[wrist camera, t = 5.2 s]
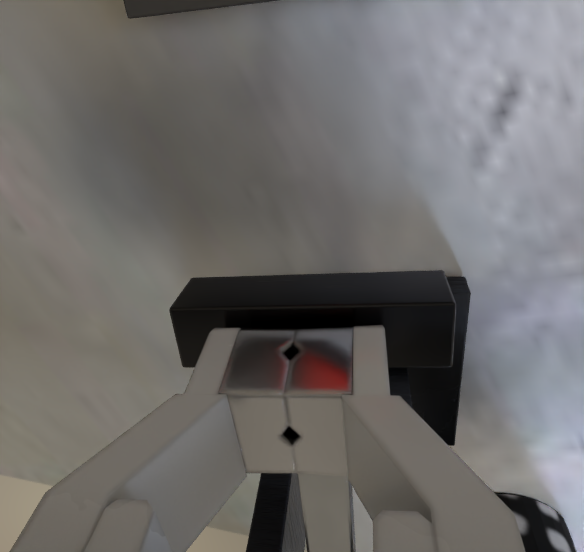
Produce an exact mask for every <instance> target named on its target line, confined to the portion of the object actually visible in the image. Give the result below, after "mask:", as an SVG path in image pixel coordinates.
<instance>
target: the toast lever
mask: <svg viewBox="0 0 584 552" xmlns="http://www.w3.org/2000/svg"><path fill="white" fill-rule="evenodd" d="M169 311H170V315H171V320H172V324H173V328H174V332H175V337H176V341H177V345H178V349H179V354H180V358H181V362H182V366H183V367H195V366H196V364H197V361H198V359H199V356H200V354H201V352H202V349H203V347H204V344H205V342H206V339H207V337H208V335H209V333H210V332H211V331H212V330H213V329H214V328H336V327H353V329H354V326H371V325H383V327H384V328H385V338H386V350H387V362H388V368H450V367H452V365H453V350H454V333H455V317H456V303H455V300H454V297H453V294H452V292H451V289H450V286H449V283H448V281H447V278H446V275H445V273H444V271H442V270H438V271H405V272H371V273H338V274H304V275H271V276H237V277H204V278H192V279H190V281H189V282H188V284H187V285H186V286H185V288H184V289H183V291H182V292H181V293H180V295H179V296H178V297H177V299H176V300H175V302H174V303H173V304H172V306H171V307H170V310H169ZM298 480H299V488H300V496H301V504H302V512H303V520H304V528H305V536H306V544H307V552H356V549H355V532H354V514H353V497H352V485H351V483H350V481H349V480H348V476H333V475H316V474H300V473H298Z"/></svg>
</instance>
